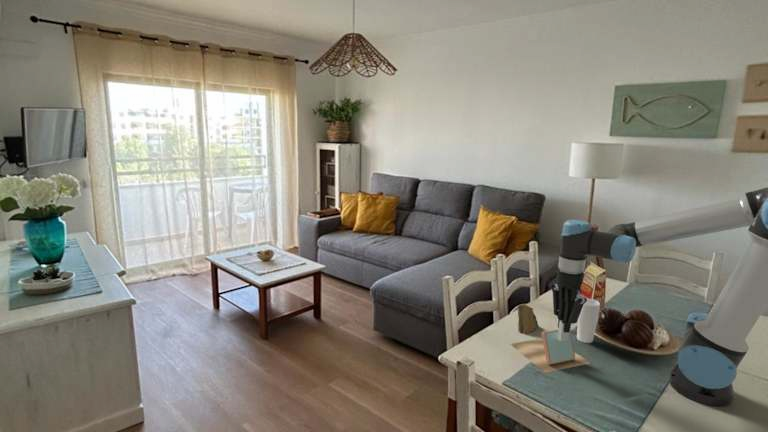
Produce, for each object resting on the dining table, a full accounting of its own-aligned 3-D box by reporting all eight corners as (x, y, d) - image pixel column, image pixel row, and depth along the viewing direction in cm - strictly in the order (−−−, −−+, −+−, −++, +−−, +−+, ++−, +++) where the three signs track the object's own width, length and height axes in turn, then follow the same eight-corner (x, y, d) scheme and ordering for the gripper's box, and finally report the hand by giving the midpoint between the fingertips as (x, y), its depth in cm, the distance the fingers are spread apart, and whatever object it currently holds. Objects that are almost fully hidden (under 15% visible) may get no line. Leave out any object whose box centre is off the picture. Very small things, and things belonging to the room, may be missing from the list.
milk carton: (573, 305, 178) (578, 261, 174) (588, 302, 182) (594, 258, 178) (591, 314, 170) (598, 268, 166) (607, 310, 174) (613, 265, 170)
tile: (575, 359, 135) (569, 328, 137) (550, 364, 132) (544, 332, 134) (572, 359, 136) (566, 327, 138) (547, 364, 133) (541, 332, 135)
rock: (532, 314, 164) (509, 313, 162) (543, 304, 158) (520, 303, 156) (541, 340, 157) (517, 340, 155) (553, 330, 151) (529, 330, 149)
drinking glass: (573, 342, 148) (578, 303, 145) (575, 334, 154) (579, 296, 151) (594, 347, 145) (600, 307, 142) (595, 338, 151) (600, 300, 148)
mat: (590, 364, 134) (590, 363, 134) (544, 374, 129) (544, 372, 129) (552, 337, 151) (552, 336, 151) (509, 345, 145) (510, 343, 145)
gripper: (597, 276, 123) (587, 348, 128) (565, 262, 135) (557, 328, 140) (577, 278, 121) (567, 351, 126) (546, 264, 133) (539, 331, 138)
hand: (562, 339), depth 133 cm, fingers closed
